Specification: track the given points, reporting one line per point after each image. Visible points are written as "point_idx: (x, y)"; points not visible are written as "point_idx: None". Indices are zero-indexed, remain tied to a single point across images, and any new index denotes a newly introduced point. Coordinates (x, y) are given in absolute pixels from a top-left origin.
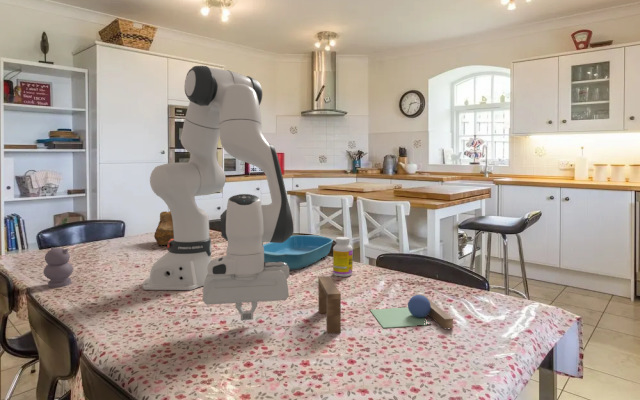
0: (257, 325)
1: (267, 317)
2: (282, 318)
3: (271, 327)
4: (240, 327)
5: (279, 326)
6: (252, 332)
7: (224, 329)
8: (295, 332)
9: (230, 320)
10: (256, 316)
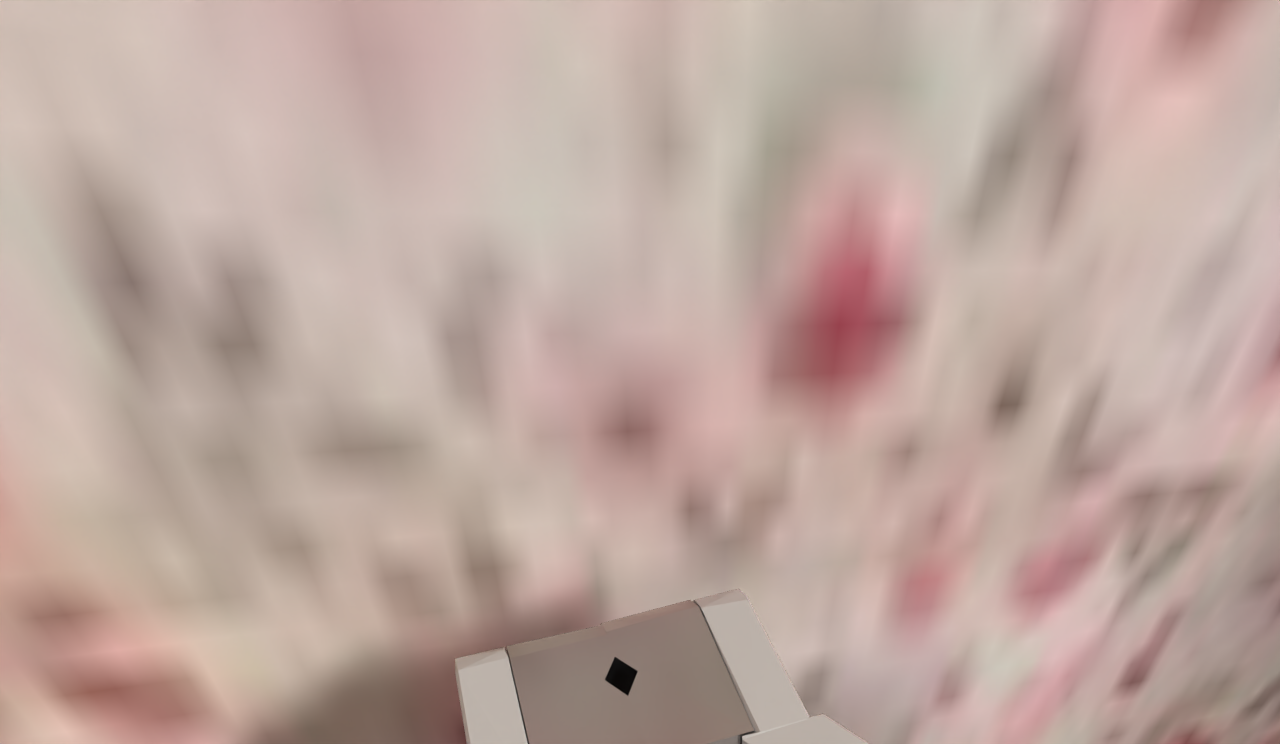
0: (761, 513)
1: (1021, 111)
2: (1275, 180)
3: (971, 555)
4: (440, 622)
5: (1092, 511)
6: None
7: (117, 735)
8: (1200, 639)
9: (35, 305)
10: (772, 21)
